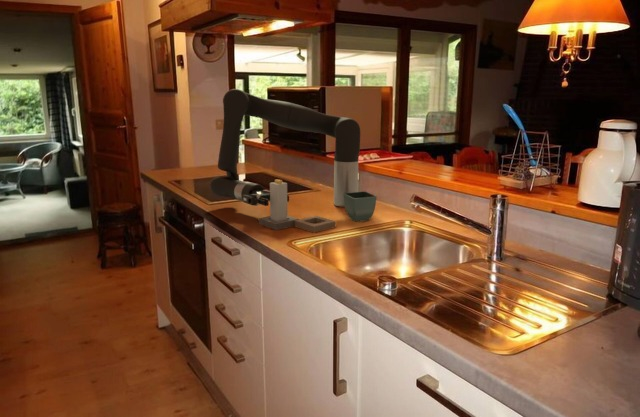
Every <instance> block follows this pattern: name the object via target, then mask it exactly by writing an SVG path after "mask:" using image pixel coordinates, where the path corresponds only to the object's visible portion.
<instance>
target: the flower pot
mask: <svg viewBox="0 0 640 417" xmlns="http://www.w3.org/2000/svg"><path fill="white" fill-rule="evenodd" d="M343 196H344V205H345V207H344V210H345V212H346V214H347V216H348V217H349V219H350V220H352V221H353V222H355V223H360V222H367V221H368V222H369V221H370V220H371V218H372V217H373V216H374V213H375V209H376V205H377V198H378V197H377V195H375V194H372V193H370V192H368V191H366V190H365V191H359V192H353V193H343Z"/></svg>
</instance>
